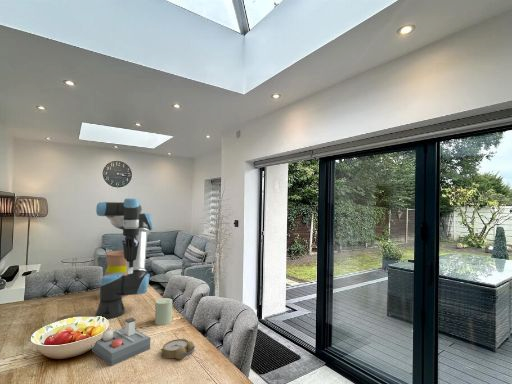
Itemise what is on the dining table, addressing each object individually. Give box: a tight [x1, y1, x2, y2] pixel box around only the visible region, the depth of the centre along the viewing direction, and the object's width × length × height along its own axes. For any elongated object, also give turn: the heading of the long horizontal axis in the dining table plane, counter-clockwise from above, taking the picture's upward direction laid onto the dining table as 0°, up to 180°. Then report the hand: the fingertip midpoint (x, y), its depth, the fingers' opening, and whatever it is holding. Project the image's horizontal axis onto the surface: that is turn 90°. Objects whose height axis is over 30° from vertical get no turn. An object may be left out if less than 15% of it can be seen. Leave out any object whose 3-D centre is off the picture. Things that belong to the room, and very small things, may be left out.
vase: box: [103, 250, 129, 298], centre depth 201 cm, size 22×22×30 cm
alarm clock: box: [160, 338, 196, 360], centre depth 121 cm, size 11×5×15 cm
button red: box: [111, 339, 122, 348], centre depth 118 cm, size 4×4×4 cm
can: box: [154, 297, 173, 326], centre depth 153 cm, size 9×9×12 cm
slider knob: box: [124, 317, 136, 336], centre depth 127 cm, size 3×3×7 cm
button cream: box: [102, 329, 114, 342], centre depth 123 cm, size 4×4×4 cm
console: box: [91, 327, 151, 366], centre depth 123 cm, size 19×17×6 cm
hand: (129, 273), depth 142 cm, fingers closed
